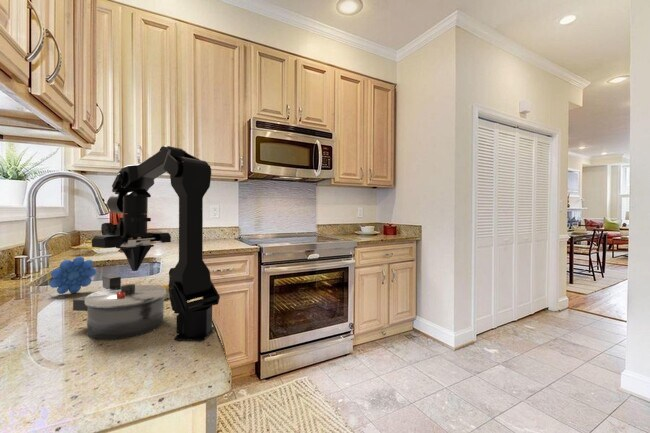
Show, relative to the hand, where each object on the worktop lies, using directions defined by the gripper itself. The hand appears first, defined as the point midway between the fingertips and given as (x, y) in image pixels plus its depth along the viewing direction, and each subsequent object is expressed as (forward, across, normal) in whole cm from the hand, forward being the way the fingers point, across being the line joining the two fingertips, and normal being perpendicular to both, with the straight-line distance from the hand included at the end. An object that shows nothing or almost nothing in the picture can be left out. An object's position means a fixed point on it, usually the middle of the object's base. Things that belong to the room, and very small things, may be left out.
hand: (134, 270), depth 81 cm
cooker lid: (+4, +7, +7) cm, 11 cm away
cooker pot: (+11, +9, +7) cm, 16 cm away
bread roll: (+12, -12, -6) cm, 18 cm away
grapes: (+11, -4, -35) cm, 37 cm away
